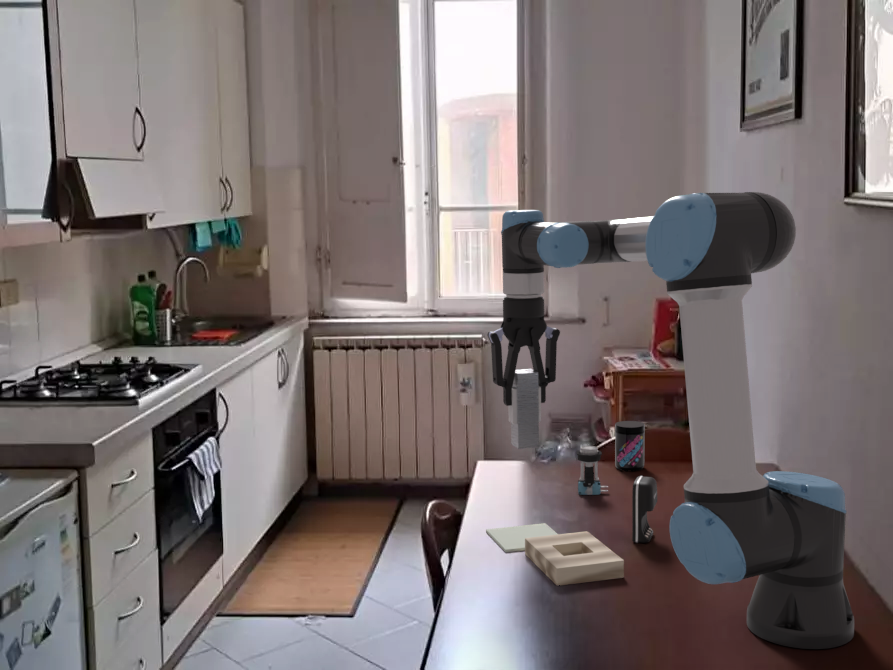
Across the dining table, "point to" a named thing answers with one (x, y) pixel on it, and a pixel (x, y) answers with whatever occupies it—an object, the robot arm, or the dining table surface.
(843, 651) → the dining table surface
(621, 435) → the supplement container
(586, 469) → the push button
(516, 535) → the pad
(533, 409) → the peg
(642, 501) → the key lock box
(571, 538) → the socket block
